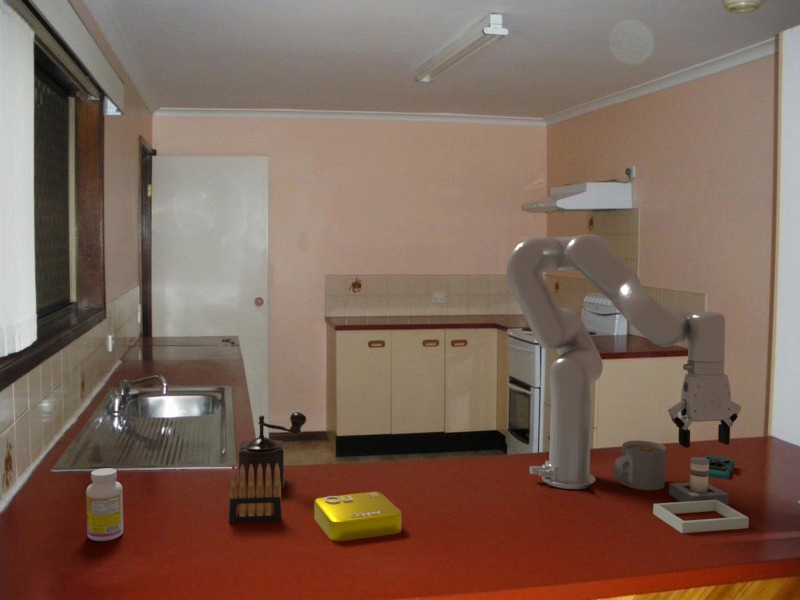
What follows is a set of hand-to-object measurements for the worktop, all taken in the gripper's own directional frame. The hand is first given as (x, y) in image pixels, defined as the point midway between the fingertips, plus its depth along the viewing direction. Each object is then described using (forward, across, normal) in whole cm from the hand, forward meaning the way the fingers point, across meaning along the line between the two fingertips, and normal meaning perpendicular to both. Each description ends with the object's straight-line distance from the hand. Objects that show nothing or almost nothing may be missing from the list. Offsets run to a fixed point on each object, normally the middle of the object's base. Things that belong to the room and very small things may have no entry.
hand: (704, 444), depth 181 cm
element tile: (+13, -78, +3) cm, 79 cm away
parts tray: (+14, -8, -11) cm, 19 cm away
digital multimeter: (+14, +17, +21) cm, 30 cm away
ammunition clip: (+12, -98, +9) cm, 99 cm away
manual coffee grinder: (+11, -93, +31) cm, 98 cm away
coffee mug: (+14, -9, +14) cm, 21 cm away
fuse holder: (+14, -1, +1) cm, 14 cm away
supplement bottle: (+11, -127, +6) cm, 127 cm away
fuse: (+13, -1, +1) cm, 13 cm away
